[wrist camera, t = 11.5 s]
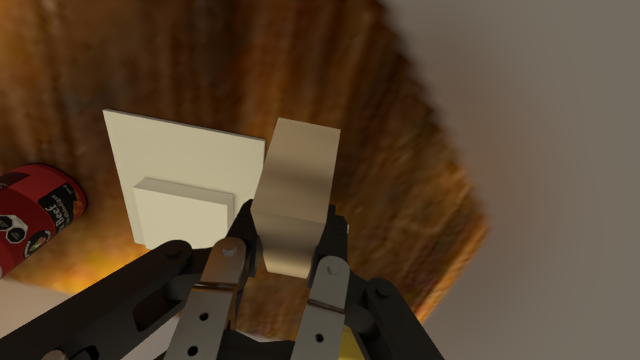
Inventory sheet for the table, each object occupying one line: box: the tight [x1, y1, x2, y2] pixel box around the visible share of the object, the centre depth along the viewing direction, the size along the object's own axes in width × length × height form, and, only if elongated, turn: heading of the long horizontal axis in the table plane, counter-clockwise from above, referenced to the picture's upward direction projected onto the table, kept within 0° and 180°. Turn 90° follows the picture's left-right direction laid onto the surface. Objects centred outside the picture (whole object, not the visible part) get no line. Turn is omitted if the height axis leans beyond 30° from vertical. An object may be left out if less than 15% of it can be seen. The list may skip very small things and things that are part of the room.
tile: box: [133, 178, 234, 250], centre depth 33 cm, size 2×10×9 cm
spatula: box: [250, 118, 349, 279], centre depth 18 cm, size 17×7×4 cm, turn 170°
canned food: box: [0, 164, 86, 279], centre depth 30 cm, size 8×8×11 cm
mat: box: [103, 109, 266, 245], centre depth 33 cm, size 18×16×1 cm
